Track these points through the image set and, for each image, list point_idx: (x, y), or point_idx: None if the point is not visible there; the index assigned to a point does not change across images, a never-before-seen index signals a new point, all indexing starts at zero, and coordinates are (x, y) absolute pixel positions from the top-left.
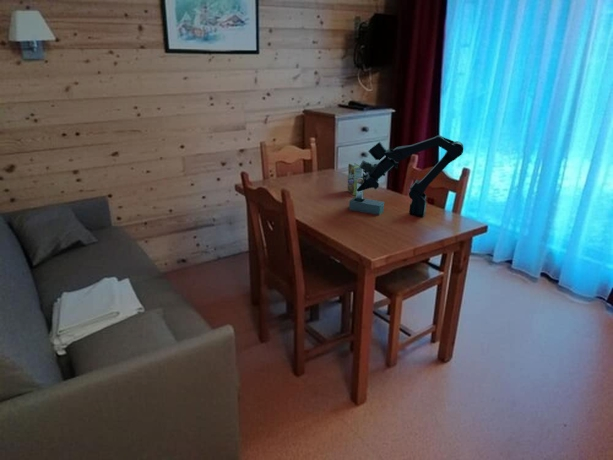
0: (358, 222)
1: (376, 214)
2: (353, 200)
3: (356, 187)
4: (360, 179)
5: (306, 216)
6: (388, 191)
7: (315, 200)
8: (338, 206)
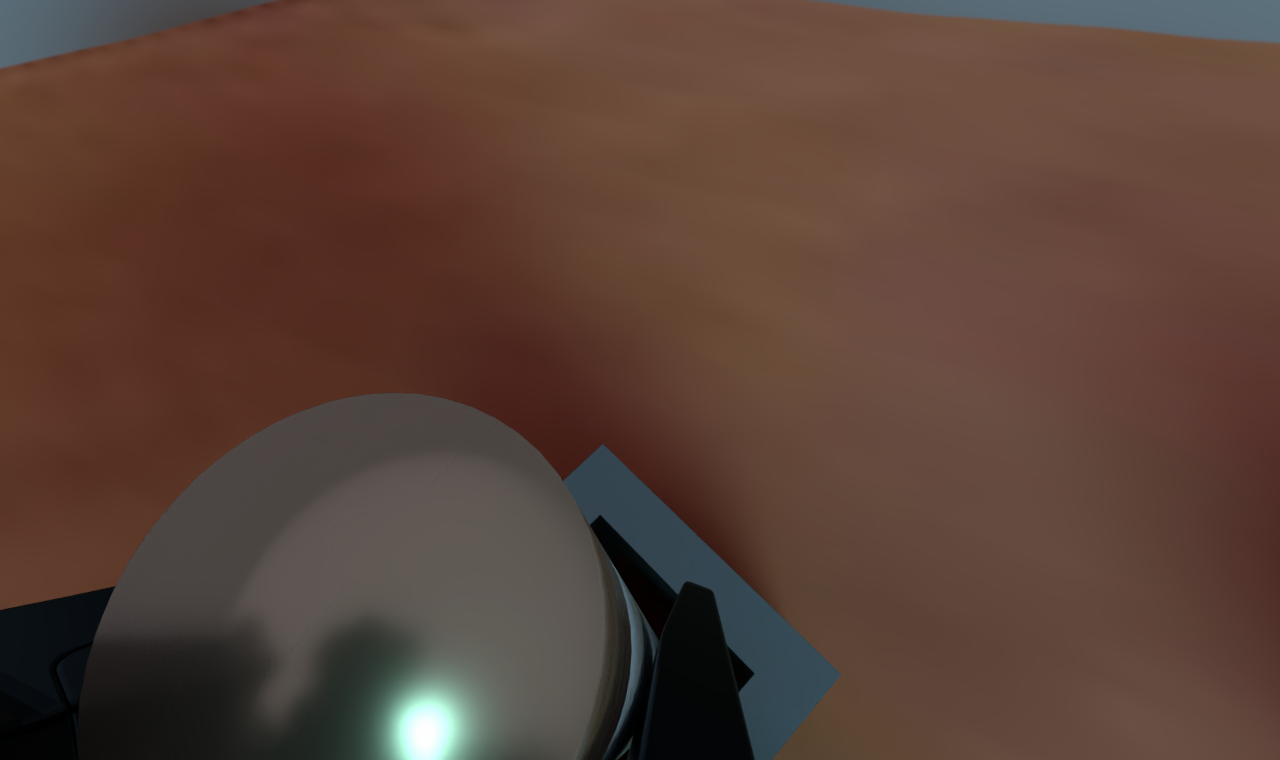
0: (137, 417)
1: None
2: (630, 546)
3: (687, 587)
4: (208, 525)
5: (556, 12)
6: None
7: (1105, 195)
8: (802, 400)
